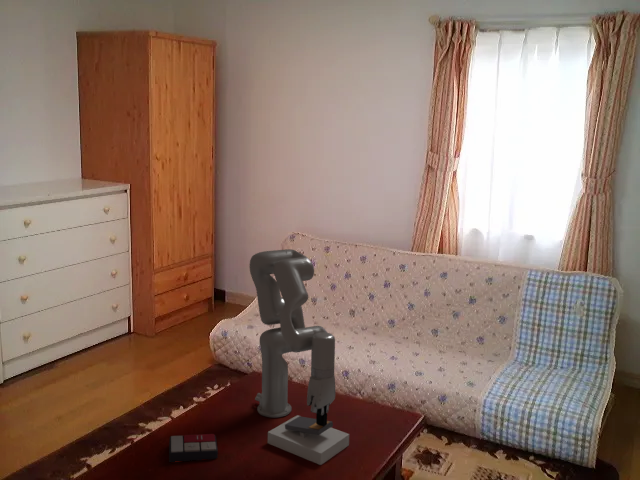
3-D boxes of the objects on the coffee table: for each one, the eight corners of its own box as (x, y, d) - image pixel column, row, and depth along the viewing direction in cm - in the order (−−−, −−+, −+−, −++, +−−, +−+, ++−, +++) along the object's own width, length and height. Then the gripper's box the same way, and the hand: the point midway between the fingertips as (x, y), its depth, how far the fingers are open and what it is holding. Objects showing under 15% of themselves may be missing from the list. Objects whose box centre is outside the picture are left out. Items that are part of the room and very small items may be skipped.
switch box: (267, 443, 212) (267, 427, 211) (297, 425, 225) (297, 411, 224) (320, 465, 199) (321, 449, 198) (348, 445, 212) (349, 430, 211)
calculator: (218, 449, 201) (169, 451, 198) (217, 461, 202) (169, 463, 198) (215, 432, 212) (169, 434, 208) (215, 444, 212) (169, 446, 209)
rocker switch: (285, 429, 212) (284, 424, 212) (300, 420, 218) (299, 415, 218) (318, 435, 203) (318, 429, 203) (333, 425, 210) (332, 420, 210)
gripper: (326, 361, 212) (325, 413, 215) (299, 375, 200) (298, 429, 203) (345, 367, 208) (343, 419, 211) (318, 381, 196) (317, 436, 199)
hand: (321, 424), depth 207 cm, fingers closed
